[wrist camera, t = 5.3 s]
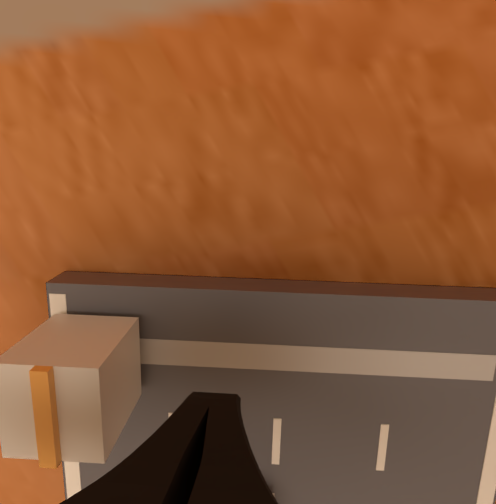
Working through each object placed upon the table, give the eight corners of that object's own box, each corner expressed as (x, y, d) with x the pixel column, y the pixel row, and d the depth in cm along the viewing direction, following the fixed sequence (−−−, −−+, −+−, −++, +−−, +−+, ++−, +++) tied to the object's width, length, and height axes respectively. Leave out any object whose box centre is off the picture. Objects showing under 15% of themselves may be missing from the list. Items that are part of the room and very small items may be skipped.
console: (509, 288, 16) (534, 303, 14) (463, 547, 19) (480, 581, 17) (65, 271, 17) (45, 283, 15) (85, 522, 20) (69, 552, 18)
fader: (138, 317, 15) (94, 374, 11) (141, 393, 16) (100, 471, 12) (54, 313, 15) (-17, 368, 11) (61, 389, 16) (-5, 465, 12)
